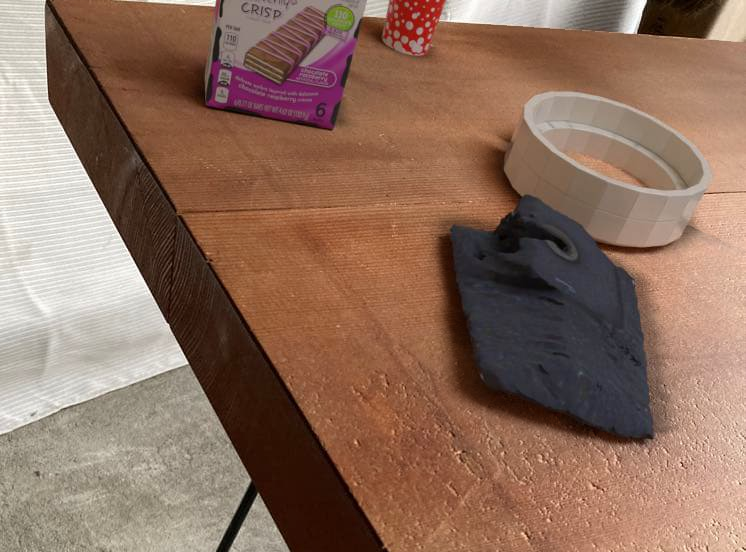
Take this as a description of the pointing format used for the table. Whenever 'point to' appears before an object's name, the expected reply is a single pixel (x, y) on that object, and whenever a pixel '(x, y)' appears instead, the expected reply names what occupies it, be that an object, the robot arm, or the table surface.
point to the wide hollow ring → (618, 147)
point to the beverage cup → (411, 25)
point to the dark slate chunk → (554, 319)
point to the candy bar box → (282, 57)
